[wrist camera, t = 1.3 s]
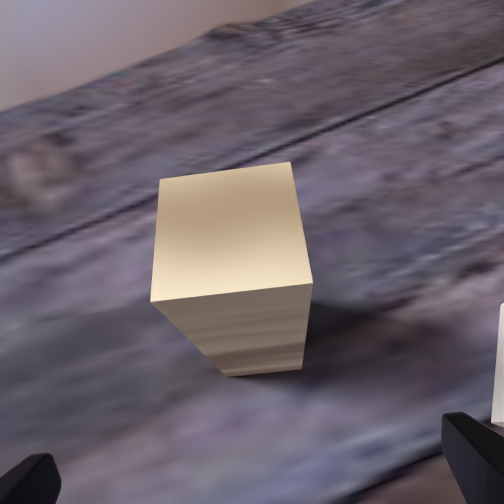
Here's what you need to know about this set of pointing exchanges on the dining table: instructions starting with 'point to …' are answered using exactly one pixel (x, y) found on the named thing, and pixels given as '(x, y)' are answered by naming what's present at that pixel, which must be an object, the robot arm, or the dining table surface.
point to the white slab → (499, 377)
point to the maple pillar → (234, 267)
